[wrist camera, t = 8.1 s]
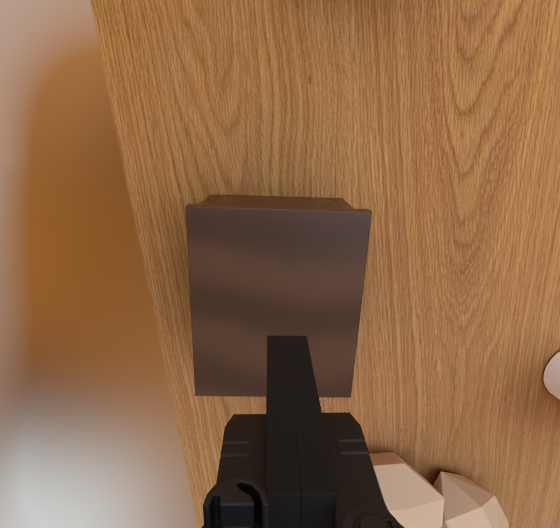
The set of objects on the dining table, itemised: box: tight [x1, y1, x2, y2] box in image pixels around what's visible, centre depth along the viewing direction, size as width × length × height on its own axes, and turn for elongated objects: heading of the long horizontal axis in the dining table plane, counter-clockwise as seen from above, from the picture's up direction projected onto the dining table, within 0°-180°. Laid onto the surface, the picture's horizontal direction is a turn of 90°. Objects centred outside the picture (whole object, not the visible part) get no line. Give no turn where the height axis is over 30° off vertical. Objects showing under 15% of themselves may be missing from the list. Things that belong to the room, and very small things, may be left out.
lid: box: [186, 204, 372, 398], centre depth 29 cm, size 16×13×1 cm
